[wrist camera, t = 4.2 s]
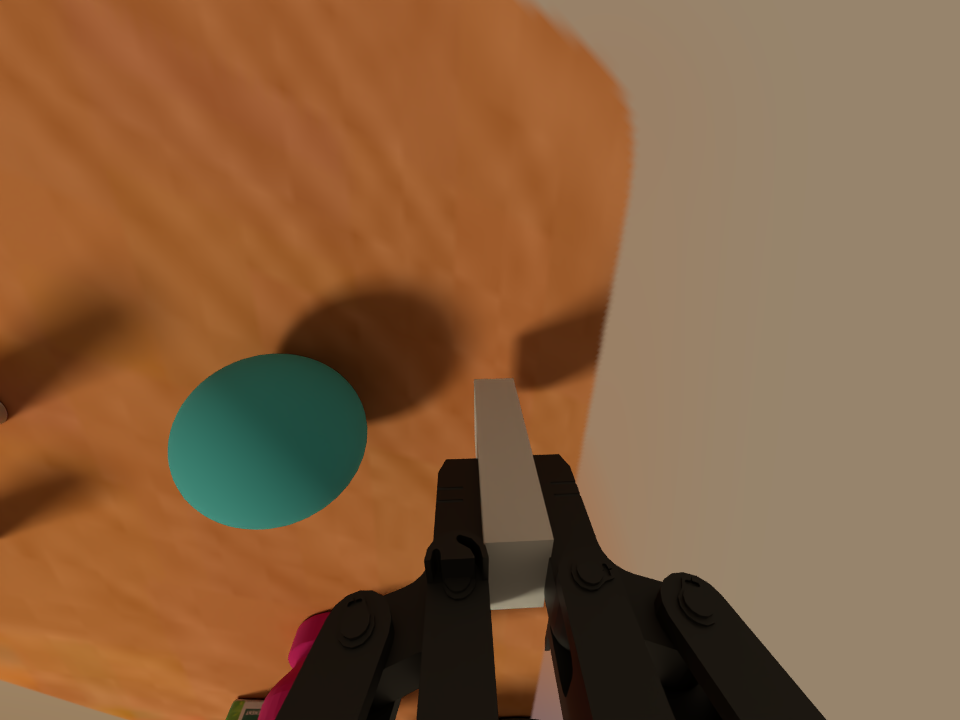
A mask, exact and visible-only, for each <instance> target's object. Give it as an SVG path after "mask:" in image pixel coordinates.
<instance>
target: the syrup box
mask: <svg viewBox="0 0 960 720" xmlns="http://www.w3.org/2000/svg"><path fill="white" fill-rule="evenodd" d="M263 702H264V700H245V699H236V700H235V701H234V702H233V704H232V706H231V708H230V710H229V713H228V715H227V718H226V720H258V717H259V714H260V710H261V707H262V704H263Z"/></svg>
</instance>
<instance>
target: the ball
mask: <svg viewBox="0 0 960 720" xmlns="http://www.w3.org/2000/svg"><path fill="white" fill-rule="evenodd" d="M366 443H367V422H366V416H365V411H364V408H363V405H362V403H361V401H360V399H359V397H358V395H357V393H356V392H355V390H354V389H353V387H352V386H351V385H350V384H349V383H348V381H347V380H346V379H345V378H343V377H342V376H341V375H340V374H339V373H338V372H336V371H335V370H334V369H332V368H330V367H329V366H327V365H325V364H323V363H321V362H319V361H316V360H313V359H311V358H307V357H303V356H299V355H292V354H265V355H258V356H254V357H250V358H246V359H242V360H240V361H237V362H234V363H232V364H230V365H228V366H226V367H224V368H222V369H220V370H218V371H217V372H215V373H214V374H212V375H211V376H209V377H208V378H207V379H205V380H204V381H203V382H202V383H201V384H200V385H199V386H197V387H196V388H195V389H194V390H193V392H192V393H191V394H190V395H189V396H188V397H187V399H186V400H185V402H184V403H183V404H182V406H181V408H180V409H179V411H178V413H177V415H176V417H175V420H174V422H173V424H172V428H171V431H170V436H169V441H168V462H169V467H170V471H171V475H172V477H173V480H174V482H175V484H176V486H177V488H178V490H179V491H180V493H181V494H182V496H183V497H184V498H185V500H186V501H187V502H188V503H189V504H190V505H191V506H192V507H194V508H195V509H196V510H197V511H199V512H200V513H201V514H203V515H204V516H206V517H208V518H210V519H211V520H214V521H216V522H218V523H221V524H224V525H227V526H231V527H235V528H242V529H271V528H276V527H282V526H286V525H290V524H293V523H296V522H298V521H301V520H303V519H305V518H308V517H310V516H311V515H313V514H315V513H317V512H318V511H320V510H322V509H323V508H325V507H326V506H327V505H328V504H330V503H331V502H332V501H333V500H334V499H336V498H337V497H338V496H339V495H340V494H341V492H342V491H343V490H344V489H345V488H346V487H347V486H348V485H349V483H350V481H351V480H352V478H353V477H354V475H355V474H356V472H357V470H358V468H359V466H360V463H361V461H362V459H363V456H364V452H365V447H366Z"/></svg>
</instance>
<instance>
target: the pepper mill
mask: <svg viewBox="0 0 960 720" xmlns="http://www.w3.org/2000/svg"><path fill="white" fill-rule="evenodd" d="M329 614H330V612H326V613H321V614H317V615H314V616H312V617H310V618H308V619H307V620H305V621H304V622H303V623H302V624H301V625H300V626H299V628H298V630H297V633H296V636H295V639H294V642H293V644H292V647H291V650H290V653H289V656H288V660H289V663H290V665H291V667H292V668H293V669H292V670H291V671H290V672H289V673H288V674H287V675H286V676H284V677H283V678H282V679H281V680H280V681H279V682H278V683H277V684H276V685H275V686H274V687H273V688H272V689H271V691H270V692H269V693H268V695H267V696H266V698H265V700H264V702H263V704H262V707H261V710H260V714H259V717H258V720H275V718H276V716H277V714H278V712H279V710H280V708H281V706H282V704H283V702H284V700H285V698H286V696H287V694H288V692H289V691H290V689H291V687H292V685H293V683H294V681H295V679H296V677H297V675H298V673H299V671H300V669H301V667H302V665H303V663H304V661H305V659H306V657H307V655H308V653H309V651H310V649H311V647H312V645H313V643H314V641H315V639H316V638H317V636H318V634H319V632H320V630H321V628H322V626H323V624H324V622H325V620H326V618H327V617H328V615H329Z"/></svg>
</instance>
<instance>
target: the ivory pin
mask: <svg viewBox="0 0 960 720" xmlns="http://www.w3.org/2000/svg"><path fill="white" fill-rule="evenodd" d="M6 419H7V411H6V409H5V407H4V405H3V404H2V403H1V402H0V424H2V423H4V422H5V421H6Z"/></svg>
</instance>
